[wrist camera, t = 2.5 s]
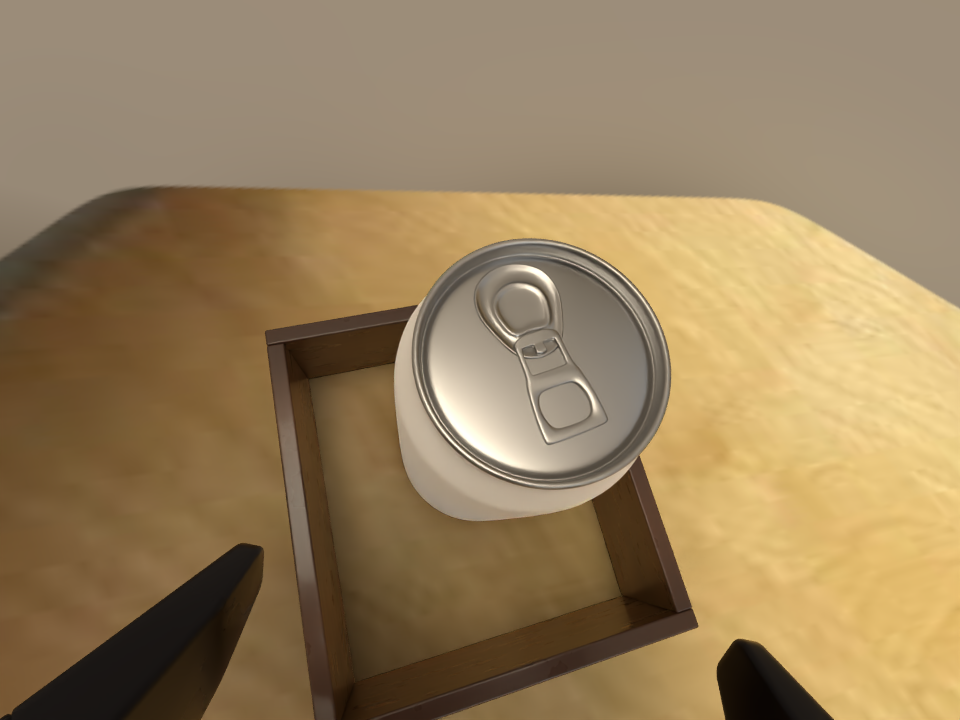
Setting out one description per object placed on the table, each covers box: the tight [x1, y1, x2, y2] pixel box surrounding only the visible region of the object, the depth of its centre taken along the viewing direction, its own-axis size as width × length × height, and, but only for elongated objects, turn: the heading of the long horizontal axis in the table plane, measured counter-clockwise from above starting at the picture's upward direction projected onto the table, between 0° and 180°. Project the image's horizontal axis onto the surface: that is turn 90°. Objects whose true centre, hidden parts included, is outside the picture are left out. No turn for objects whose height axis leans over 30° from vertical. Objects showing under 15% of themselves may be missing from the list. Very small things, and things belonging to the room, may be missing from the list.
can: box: [394, 238, 671, 521], centre depth 16 cm, size 6×6×12 cm
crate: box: [265, 305, 698, 720], centre depth 19 cm, size 13×12×4 cm
